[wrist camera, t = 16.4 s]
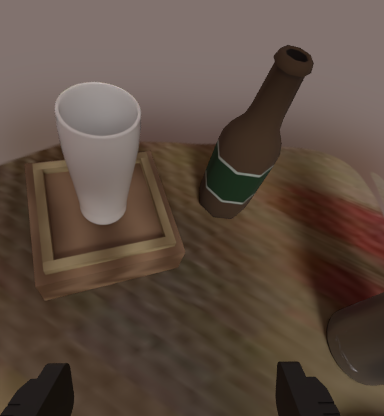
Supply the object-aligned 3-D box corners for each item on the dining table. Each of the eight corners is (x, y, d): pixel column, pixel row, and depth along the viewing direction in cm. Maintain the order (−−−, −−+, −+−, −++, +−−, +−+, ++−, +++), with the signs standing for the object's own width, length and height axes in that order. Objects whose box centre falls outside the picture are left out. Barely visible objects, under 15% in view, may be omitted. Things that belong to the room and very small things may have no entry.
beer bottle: (231, 175, 50) (307, 29, 30) (252, 214, 47) (353, 78, 27) (189, 184, 47) (242, 29, 27) (208, 226, 44) (286, 84, 24)
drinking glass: (64, 196, 36) (39, 89, 23) (116, 177, 39) (118, 74, 27) (88, 242, 33) (74, 149, 21) (142, 218, 36) (157, 125, 24)
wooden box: (147, 172, 47) (151, 145, 42) (178, 267, 39) (187, 248, 35) (33, 187, 41) (22, 158, 36) (44, 300, 34) (33, 283, 29)
